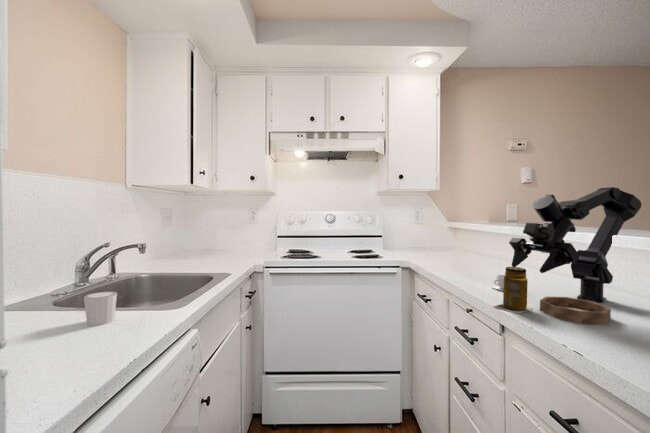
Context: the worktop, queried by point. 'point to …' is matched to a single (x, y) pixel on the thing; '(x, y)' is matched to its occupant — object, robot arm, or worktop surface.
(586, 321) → the ring seat
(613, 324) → the worktop surface
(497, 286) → the teacup
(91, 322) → the shot glass
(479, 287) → the worktop surface
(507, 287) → the condiment
